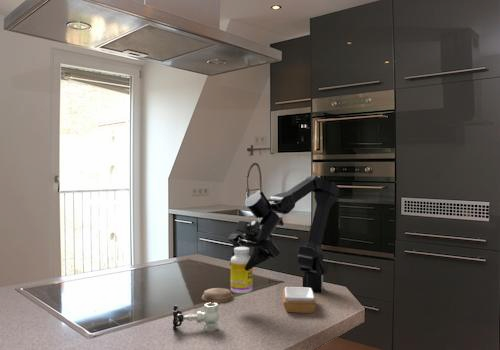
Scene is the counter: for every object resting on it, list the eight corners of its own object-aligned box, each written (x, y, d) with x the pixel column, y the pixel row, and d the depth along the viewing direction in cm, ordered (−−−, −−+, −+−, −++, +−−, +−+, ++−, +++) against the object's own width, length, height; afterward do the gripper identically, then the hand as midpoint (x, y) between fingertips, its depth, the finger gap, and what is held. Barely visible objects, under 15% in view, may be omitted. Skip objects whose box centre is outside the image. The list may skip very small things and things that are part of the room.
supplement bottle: (250, 294, 120) (250, 250, 120) (228, 293, 121) (228, 249, 121) (254, 288, 127) (254, 246, 126) (233, 286, 128) (233, 245, 128)
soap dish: (316, 315, 121) (316, 298, 121) (283, 314, 122) (283, 297, 122) (312, 301, 134) (312, 286, 134) (282, 301, 134) (282, 285, 134)
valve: (218, 324, 113) (174, 325, 112) (218, 300, 113) (174, 301, 112) (219, 333, 107) (172, 335, 106) (219, 308, 107) (172, 309, 105)
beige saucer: (237, 295, 140) (237, 289, 140) (225, 304, 130) (225, 298, 130) (210, 291, 143) (210, 286, 143) (196, 300, 133) (196, 294, 133)
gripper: (232, 208, 133) (204, 246, 126) (272, 213, 119) (244, 256, 112) (250, 230, 139) (224, 268, 131) (291, 237, 125) (264, 280, 118)
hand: (238, 267), depth 123 cm, fingers closed on supplement bottle, 7 cm apart
